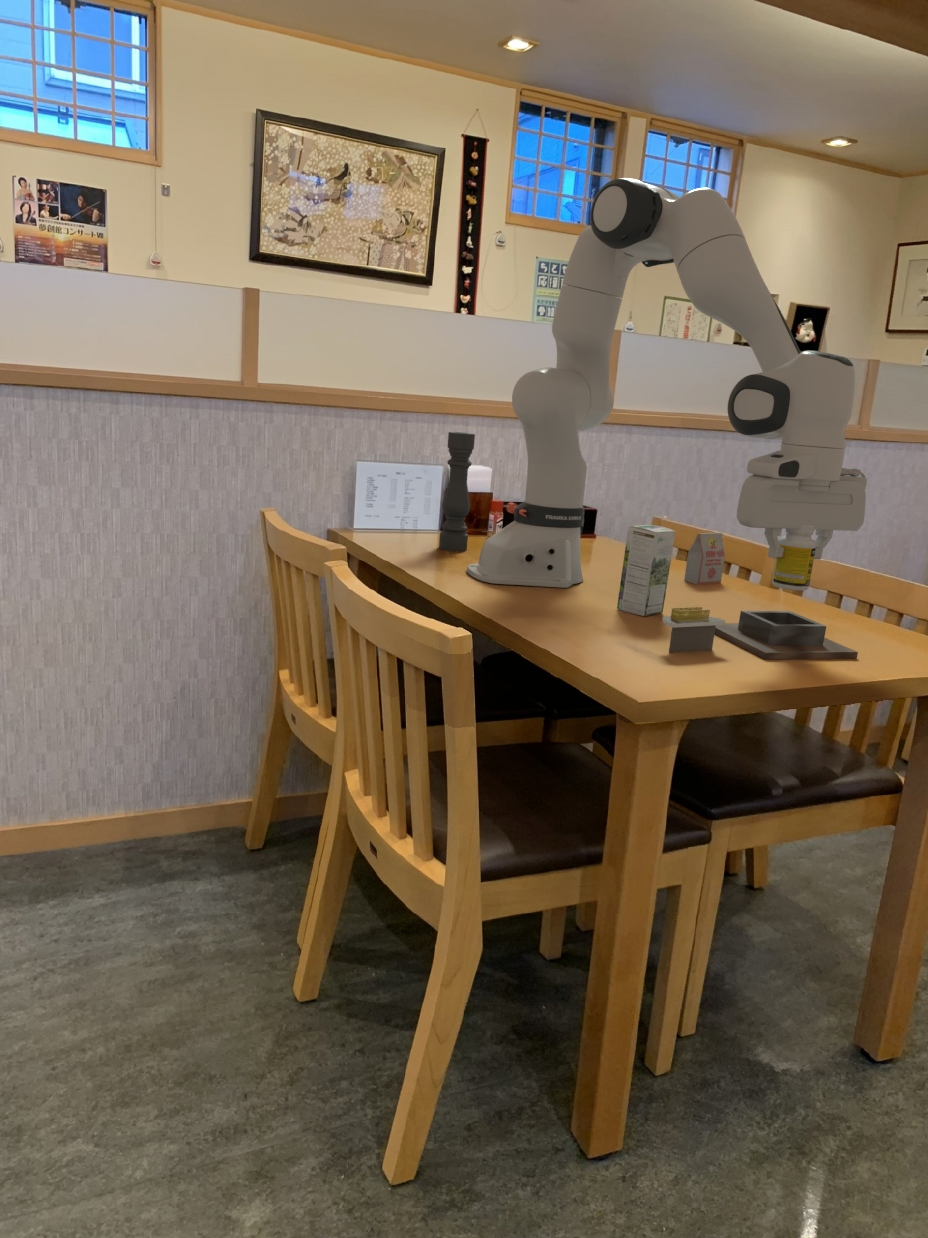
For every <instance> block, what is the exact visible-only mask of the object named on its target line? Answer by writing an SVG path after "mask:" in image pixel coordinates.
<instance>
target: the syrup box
mask: <svg viewBox="0 0 928 1238" xmlns="http://www.w3.org/2000/svg"><path fill="white" fill-rule="evenodd" d="M675 535H676V531H675V529H670V528H667V527H665V526H660V525H654V524H645V525H644V524H643V525H632V526H628V528H627V535H626V542H625V548H624V556H623V562H622V571H621V576H620V577H621V578H620V582H619V583H620V585H619V591H618V598H617V603H616V604H617V605H616V609H617V610H618V611H623V612H625V613H630V614H632V615H637V616H641V617H649V616H652V615H658V614H661V613H664V606H665V600H666V594H667V587H668V582H669V575H670V567H671V562H672V557H673V550H674V549H673V548H674V542H675Z"/></svg>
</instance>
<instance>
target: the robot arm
mask: <svg viewBox="0 0 928 1238" xmlns="http://www.w3.org/2000/svg"><path fill="white" fill-rule="evenodd" d="M590 207H591V208H590V212H589V213H590V214H589V223H590V225H589V226H587V227H585V228H584V229H583V230H582V231H581V232H580V234H579V235H578V237H577V240H576V243H575V245H574V246H573V249H572V252H571V254H570V256H569V260H568V263H567V265H566V268H565V272H564V275H563V279H562V283H561V284H562V285H561V286H560V287H561V288H560V291H559V296H558V300H557V303H556V307H555V308H556V309H555V312H554V316H553V320H552V324H551V333H552V337H553V338H554V340H555V345H556V346H555V347H556V367H551V366H550V367H543V368H539V369H534V370H531V371H528V372H526V373H524V374H523V375H522V376H520V377H519V379H518V380H517V381H516V383H515V385H514V387H513V390H512V396H511V403H512V409H513V411H514V413H515V415H516V417H517V418H518V420H519V421H520V423H521V427H522V430H523V434H524V439H525V447H526V453H527V471H526V472H527V474H526V484H525V496H524V498H525V499H524V501H523V502H521V503H520V504H517V503H514V502H512V501H510V502H508V503H507V504H506V506H505V508H506V509H505V510H506V511H507V512H508V513H510V514H511V515H513V521H512V522H510V523H509V524H507V525H506V526H504V527H503V528H501V529H499V531H497V532H496V533H494V534H492V535H491V536H489V538H487V539H486V540H485V541H484V542H483V545H482V547H481V551H480V554H479V555H480V556H479V559H478V563H469V564H468V565H467V567H466V572H467V573H468V575H470V576H471V577H473V578H474V579H476V580H478V581H482V582H485V583H488V584H489V583H490V584H496V585H497V584H499V585H517V586H533V587H548V588H564V589H565V588H570V587H571V586H572V585H575V584H579V583H582V582H583V581H584V578H583V577H584V576H583V572H582V564H581V563H582V561H581V536H582V534H583V531H584V529H583V528H584V524H585V507H584V498H585V490H586V480H587V479H586V478H587V472H588V468H587V463H586V461H585V459H584V457H583V455H582V452H581V451H582V450H581V447H580V441H579V440H580V438H579V432H581V431H587V430H590V429H592V428H596V427H597V426H599V425H602V424H603V423H604V422H606V420H607V419H608V418H609V417H610V415H611V413H612V411H613V408H614V393H613V390H612V387H611V385H610V361H611V349H612V348H611V347H612V341H613V337H614V334H615V328H616V325H617V320H618V316H619V314H620V309H621V305H622V302H623V298H624V293H625V289H626V284H627V281H628V279H629V276H630V274H631V272H632V270H633V269H634V267H636V266H637V265H638V264H639V263H641V264H642V265H643V266H645V267H647V268H651V267H655V266H658V265H667V264H668V265H670V264H673V263H674V265H675V268H676V272H677V275H678V277H679V280H680V283H681V285H682V288H683V290H684V293H685V294H686V296H687V297H688V299H689V301H690V302H691V303H692V305H693V306H694V307H695V308H696V309H697V311H699V313H702V314H703V315H705V316H707V317H709V318H711V319H713V320H715V321H718V322H719V323H721V324H723V325H725V326H726V327H728V328H730V329H732V330H733V331H734V332H736V333H738V334H739V335H740V336H741V337H742V339H744V340H745V341H746V342H747V344H748V345H749V347H750V348H751V350H752V352H753V354H754V356H755V358H756V360H757V362H758V364H759V367H760V368H761V372H758V373H754V374H748V375H746V376H744V377H743V378H741V379H740V380H739V381H738V382H737V383H736V384H735V385H734V386H733V388H732V390H731V392H730V394H729V397H728V400H727V415H728V420H729V422H730V424H731V426H732V428H733V429H734V430H735V431H736V432H737V433H739V434H741V435H744V436H746V437H750V438H755V439H765V440H779V441H781V445H780V450H776V451H774V452H771V453H767V454H764V455H761V456H758V457H753V458H751V459H749V460H748V462H747V466H746V471H747V473H748V474H751V475H749V476H748V477H747V478H745V479H744V482H743V483H742V486H741V489H740V494H739V498H738V501H737V502H738V503H737V508H736V519H737V521H738V523H739V524H740V525H741V526H744V527H748V528H752V529H764V536H765V538H766V541H767V544H768V553H767V555H768V558H770V559H772V560H773V559H775V560H776V559H782V558H783V556H784V554H783V553H784V550H785V548H784V547H780V544H779V538H778V537H782V530H786V529H801V528H802V527H803V526H804V525H810V526H813V529H814V531H815V536H816V539H815V540H814V541H815V542H816V550H815V555H814V560H821V559H822V558H823V552H824V549H825V547H826V546H827V545H828V544H829V542H831V540H832V538H833V535H834V534H833V532H834V531H842V532H844V531H847V532H857V531H859V530H860V529H861V527H862V526H863V525H864V522H865V514H866V500H867V499H866V497H867V495H866V487H867V482H868V481H867V477H866V475H865V474H864V473H863V472H862V471H861V469H859V468H845V467H843V465H844V464H843V463H844V459H845V453H846V431H847V427H848V424H849V422H850V420H851V418H852V412H853V404H854V399H855V389H856V370H855V366H854V364H853V362H852V361H851V360H850V359H848V358H847V357H845V356H842V355H838V354H834V353H829V352H823V351H819V350H809V349H807V350H803V351H801V350H800V348H799V346H798V344H797V341H796V339H795V337H794V335H793V333H792V331H791V329H790V326H789V325H788V322H787V321H786V319H785V317H784V315H783V313H782V311H781V309H780V307H779V305H778V304H777V302H776V300H775V298H774V297H773V295H772V294H771V292H770V290H769V288H768V286H767V285H766V283H765V281H764V279H763V277H762V275H761V273H760V270H759V268H758V267H757V264H756V262H755V260H754V257H753V255H752V253H751V249H750V247H749V245H748V243H747V239H746V237H745V235H744V232H743V230H742V228H741V226H740V224H739V221H738V219H737V218H736V216H735V214H734V212H733V210H732V208H731V207H730V205H729V204H728V202H727V201H726V200H725V198H724V196H722V194H721V193H720V192H718V191H717V190H715V189H713V188H709V187H700V188H694V189H692V190H690V191H687V192H686V193H684V194H683V195H681V196H679V195H678V194H676V193H674V192H672V191H671V190H669V189H666V188H665V187H661V186H658V185H656V186H655V185H653V184H649V183H645V182H643V181H641V180H639V179H636V178H632V177H631V178H630V177H629V178H628V177H622V178H621V177H620V178H615V179H611V180H610V181H607V182H606V183H605V184H604V185H603V186H602V187H600V189H599V190H598V192H597V193H596V195H595V196H594V199H593V201H592V204H591V206H590Z"/></svg>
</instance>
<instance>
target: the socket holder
mask: <svg viewBox="0 0 928 1238" xmlns="http://www.w3.org/2000/svg"><path fill="white" fill-rule="evenodd" d="M826 631H827V625H825V624H822V623H820V622H817V621H814V620H812V619H809V618H807V617H805V616H803V615H800V614H798V613H796V612H793V611H790V610H740V613H739V620H738V623H737V622H736V623H735V622H727V623H726V622H725V625H716V628H715V634H714V635H715V636H718V637H720V638H722V639H724V640H726V641H728V642H729V643H732V644H734V645H736V647H740V648H742V649H743V650H746V652H747V651H748V652H750V653H751V654H753V655H755V656H757V657H759V658H760V659H763V660H823V659H824V660H826V659H827V660H829V659H830V660H832V659H833V660H834V659H835V660H836V659H837V660H838V659H842V660H843V659H844V660H845V659H858V655H859V654H858V653H859V652H858V651H857V650H854V649H852V648H849V647H848V646H845V645H843V644H840V643H838V642H836V641H834V640H830V639H829V638H826Z"/></svg>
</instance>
